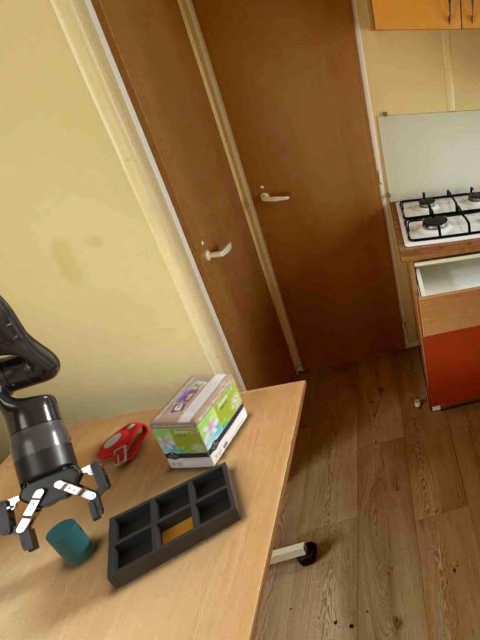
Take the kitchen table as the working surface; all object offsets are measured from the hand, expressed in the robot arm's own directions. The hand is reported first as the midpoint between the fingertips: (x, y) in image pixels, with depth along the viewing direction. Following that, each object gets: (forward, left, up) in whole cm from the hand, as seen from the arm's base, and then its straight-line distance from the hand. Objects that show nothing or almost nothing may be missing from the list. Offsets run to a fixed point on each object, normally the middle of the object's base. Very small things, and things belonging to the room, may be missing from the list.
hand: (67, 534), depth 77 cm
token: (0, 0, -6) cm, 6 cm away
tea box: (+23, +14, -6) cm, 27 cm away
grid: (+15, -5, -6) cm, 17 cm away
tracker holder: (+6, +24, -6) cm, 25 cm away
